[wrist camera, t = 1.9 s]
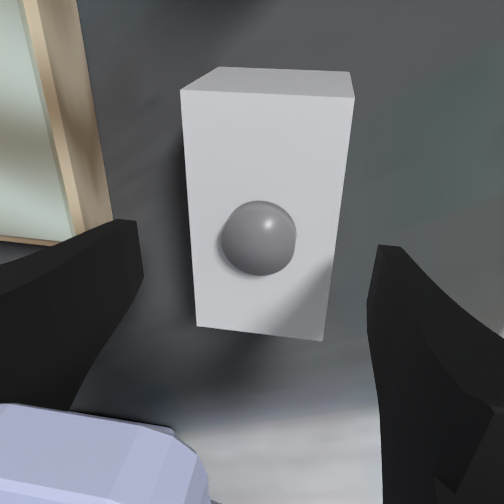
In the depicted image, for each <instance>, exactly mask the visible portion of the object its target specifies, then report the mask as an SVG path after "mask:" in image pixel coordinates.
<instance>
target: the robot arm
mask: <svg viewBox="0 0 504 504" xmlns="http://www.w3.org/2000/svg"><path fill="white" fill-rule="evenodd" d="M143 278H144V273H143V266H142V259H141V251H140V244H139V237H138V230H137V223H136V221H132V220H122V219H116V220H113V221H110V222H107V223H104V224H102V225H99V226H97V227H95V228H92V229H90V230H88V231H85V232H83V233H81V234H79V235H76V236H74V237H72V238H69V239H67V240H65V241H63V242H60V243H58V244H55V245H53V246H50V247H48V248H45V249H43V250H40V251H38V252H35V253H33V254H30V255H28V256H25V257H22V258H20V259H17V260H14V261H11V262H8V263H4V264H1V265H0V504H220V503H218V502H215V501H213V500H210V498H209V490H208V475H207V473H206V471H205V469H204V467H203V465H202V463H201V461H200V459H199V456H198V455H197V453H196V452H195V450H193V449H192V448H191V447H189V446H188V445H187V444H185V443H184V442H183V441H181V440H180V439H179V438H177V437H176V436H175V432H174V431H173V430H172V429H171V428H168V427H162V426H156V425H150V424H144V423H138V422H132V421H126V420H119V419H113V418H107V417H101V416H95V415H89V414H83V413H77V412H70V411H69V409H70V407H71V405H72V403H73V400H74V398H75V396H76V394H77V392H78V390H79V388H80V386H81V384H82V382H83V380H84V379H85V377H86V375H87V373H88V371H89V369H90V367H91V365H92V364H93V362H94V360H95V359H96V357H97V356H98V354H99V353H100V351H101V349H102V348H103V346H104V345H105V343H106V342H107V340H108V339H109V337H110V336H111V334H112V333H113V331H114V330H115V328H116V327H117V325H118V324H119V322H120V321H121V319H122V318H123V316H124V315H125V313H126V311H127V310H128V308H129V307H130V305H131V304H132V302H133V300H134V298H135V296H136V294H137V291H138V289H139V287H140V285H141V282H142V280H143ZM367 334H368V340H369V347H370V353H371V359H372V365H373V371H374V377H375V384H376V390H377V396H378V404H379V413H380V432H381V454H382V482H383V504H504V338H502V337H501V336H499V335H498V334H496V333H495V332H493V331H492V330H490V329H489V328H488V327H486V326H485V325H483V324H482V323H481V322H479V321H478V320H477V319H475V318H474V317H473V316H471V315H470V314H469V313H468V312H466V311H465V310H464V309H463V308H461V307H460V306H459V305H458V304H457V303H456V302H455V301H454V300H452V299H451V298H450V297H449V296H448V295H447V294H446V293H445V292H444V291H443V290H441V289H440V288H439V287H438V286H437V285H436V284H435V283H434V282H433V281H432V280H431V279H430V278H429V277H428V276H427V275H426V273H425V272H424V271H423V270H422V269H421V268H420V267H419V266H418V265H417V264H416V263H415V262H414V261H413V259H412V258H411V257H410V256H409V255H408V254H407V253H406V252H405V251H404V250H403V249H402V248H401V247H398V246H388V245H378V248H377V253H376V258H375V263H374V268H373V273H372V278H371V283H370V288H369V293H368V298H367Z"/></svg>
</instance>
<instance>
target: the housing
mask: <svg viewBox="0 0 504 504" xmlns="http://www.w3.org/2000/svg"><path fill="white" fill-rule="evenodd" d="M180 96H181V110H182V124H183V138H184V152H185V166H186V180H187V194H188V208H189V222H190V237H191V251H192V265H193V279H194V293H195V307H196V321H197V326H201V327H209V328H217V329H226V330H234V331H242V332H250V333H258V334H266V335H274V336H282V337H290V338H298V339H306V340H314V341H322V340H323V333H324V325H325V318H326V310H327V303H328V295H329V288H330V280H331V273H332V265H333V258H334V250H335V243H336V235H337V228H338V220H339V213H340V205H341V198H342V190H343V183H344V175H345V168H346V160H347V153H348V145H349V138H350V130H351V123H352V115H353V108H354V100H355V96H354V92H353V87H352V82H351V77H350V72H339V71H313V70H287V69H262V68H236V67H217V68H216V69H214V70H212V71H211V72H209V73H207V74H206V75H204V76H202V77H201V78H199V79H197V80H196V81H194V82H192V83H191V84H189V85H187V86H186V87H184V88H182V89H181V90H180Z"/></svg>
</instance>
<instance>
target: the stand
mask: <svg viewBox="0 0 504 504" xmlns="http://www.w3.org/2000/svg"><path fill="white" fill-rule="evenodd" d="M110 221H113V215H112V210H111V204H110V198H109V192H108V186H107V180H106V174H105V168H104V162H103V156H102V150H101V144H100V139H99V133H98V127H97V121H96V115H95V109H94V103H93V97H92V91H91V85H90V79H89V74H88V68H87V62H86V56H85V50H84V44H83V38H82V32H81V26H80V20H79V14H78V8H77V3H76V0H0V241H9V242H18V243H27V244H37V245H46V246H53V245H55V244H58V243H60V242H63V241H65V240H67V239H69V238H72V237H74V236H76V235H79V234H81V233H83V232H85V231H88V230H90V229H92V228H95V227H97V226H99V225H102V224H104V223H107V222H110Z"/></svg>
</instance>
